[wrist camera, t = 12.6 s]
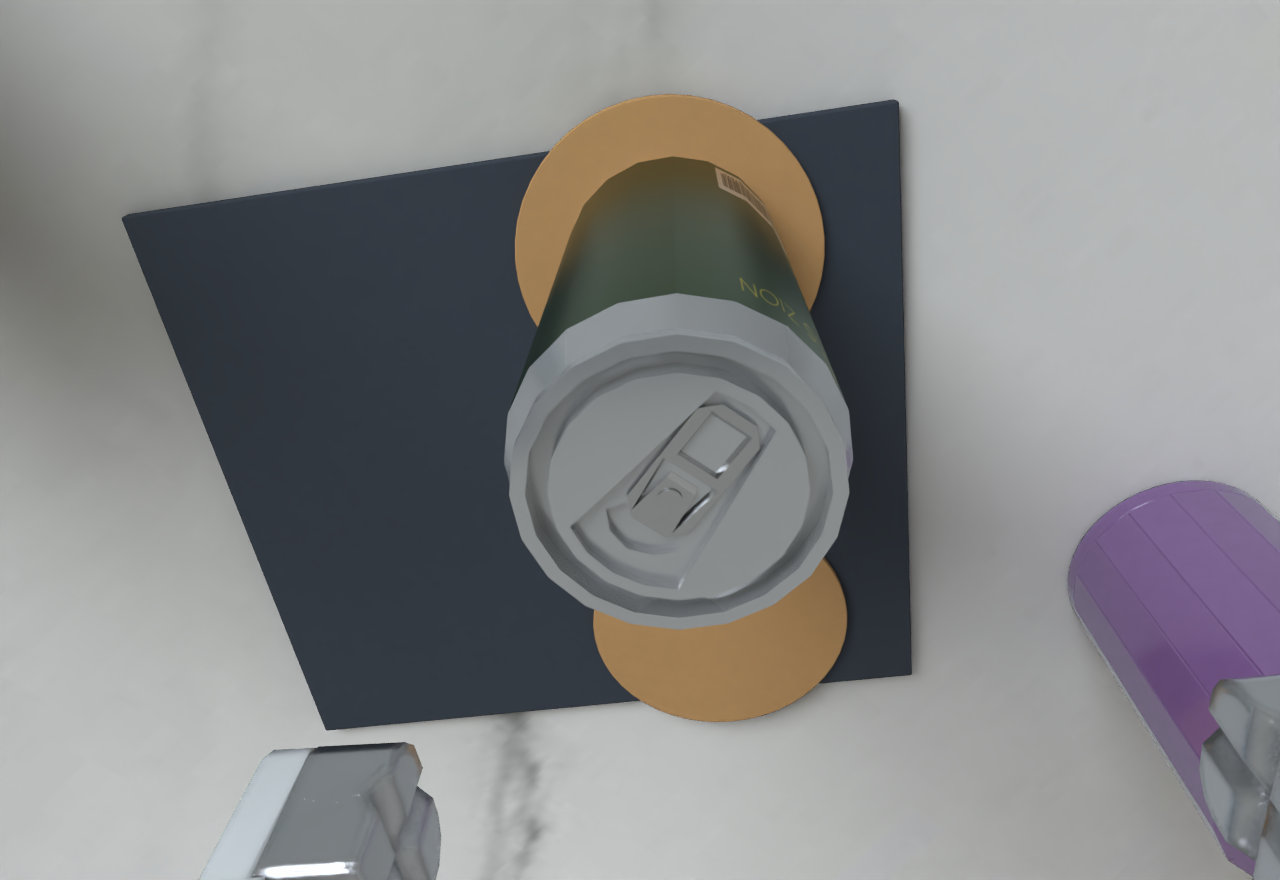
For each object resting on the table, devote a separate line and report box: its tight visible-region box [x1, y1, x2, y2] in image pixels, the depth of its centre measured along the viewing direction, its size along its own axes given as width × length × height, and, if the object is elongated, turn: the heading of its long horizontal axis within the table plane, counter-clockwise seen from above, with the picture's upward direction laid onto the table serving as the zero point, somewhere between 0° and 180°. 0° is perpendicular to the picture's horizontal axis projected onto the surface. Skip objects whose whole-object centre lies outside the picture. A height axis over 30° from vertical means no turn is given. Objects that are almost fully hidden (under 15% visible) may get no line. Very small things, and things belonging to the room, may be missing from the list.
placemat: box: [122, 94, 912, 730], centre depth 28 cm, size 20×20×1 cm
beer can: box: [504, 156, 853, 630], centre depth 19 cm, size 5×5×12 cm
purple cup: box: [1068, 481, 1280, 877], centre depth 25 cm, size 6×6×9 cm
